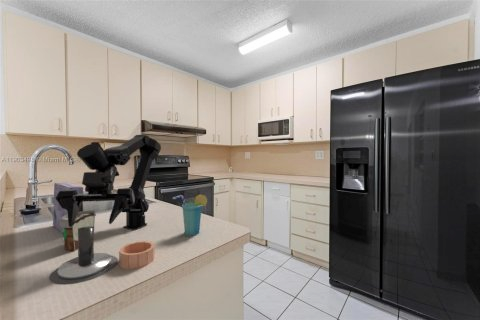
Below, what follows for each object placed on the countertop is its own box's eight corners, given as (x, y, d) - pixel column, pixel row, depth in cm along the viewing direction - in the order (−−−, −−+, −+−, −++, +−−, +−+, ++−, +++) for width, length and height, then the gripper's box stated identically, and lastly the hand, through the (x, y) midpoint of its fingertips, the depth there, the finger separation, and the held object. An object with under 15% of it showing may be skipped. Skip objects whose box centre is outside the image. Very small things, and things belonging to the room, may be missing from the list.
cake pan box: (84, 233, 79) (84, 185, 79) (68, 237, 75) (67, 187, 75) (67, 223, 90) (67, 181, 90) (52, 226, 86) (51, 182, 86)
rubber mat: (34, 279, 49) (34, 277, 49) (92, 253, 63) (92, 251, 63) (78, 291, 45) (78, 289, 45) (130, 260, 59) (130, 258, 59)
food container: (77, 239, 74) (77, 210, 73) (96, 238, 74) (95, 209, 74) (48, 255, 61) (48, 221, 61) (71, 255, 62) (70, 220, 62)
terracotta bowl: (112, 267, 55) (111, 252, 55) (136, 253, 63) (136, 239, 63) (138, 272, 53) (138, 256, 53) (160, 257, 61) (160, 243, 61)
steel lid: (46, 275, 50) (45, 233, 50) (91, 254, 61) (90, 220, 61) (80, 284, 47) (79, 239, 47) (121, 260, 58) (121, 223, 57)
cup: (178, 242, 71) (178, 197, 71) (167, 235, 77) (167, 194, 76) (211, 231, 81) (211, 192, 81) (199, 226, 87) (199, 190, 86)
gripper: (58, 161, 59) (33, 211, 49) (132, 161, 64) (124, 206, 54) (72, 186, 67) (52, 233, 56) (137, 184, 72) (130, 227, 62)
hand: (90, 224), depth 57 cm, fingers open, 9 cm apart
